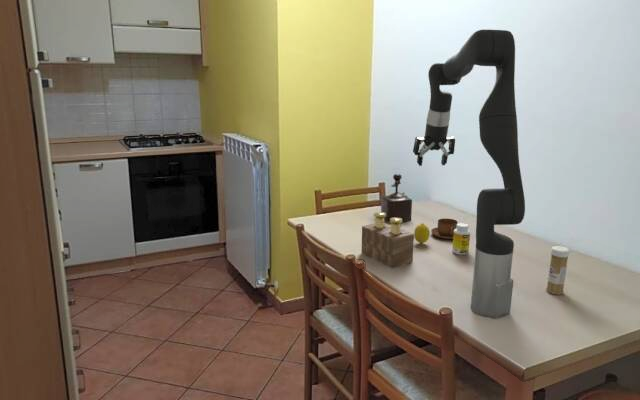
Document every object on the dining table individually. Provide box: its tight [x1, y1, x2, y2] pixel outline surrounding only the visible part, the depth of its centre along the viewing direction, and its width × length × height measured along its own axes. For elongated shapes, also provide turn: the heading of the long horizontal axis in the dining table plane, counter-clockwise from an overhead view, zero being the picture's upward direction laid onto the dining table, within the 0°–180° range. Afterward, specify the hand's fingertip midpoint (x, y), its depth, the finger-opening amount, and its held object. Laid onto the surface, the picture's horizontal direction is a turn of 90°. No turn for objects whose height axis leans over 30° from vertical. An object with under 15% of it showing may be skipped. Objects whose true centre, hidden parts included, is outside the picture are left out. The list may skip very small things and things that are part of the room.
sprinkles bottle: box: [546, 245, 570, 295], centre depth 141 cm, size 5×5×13 cm
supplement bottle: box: [452, 222, 471, 256], centre depth 172 cm, size 6×6×10 cm
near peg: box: [389, 218, 403, 235], centre depth 163 cm, size 4×4×10 cm
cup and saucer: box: [430, 218, 459, 240], centre depth 190 cm, size 12×12×6 cm
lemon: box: [413, 223, 431, 245], centre depth 181 cm, size 6×6×8 cm
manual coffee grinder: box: [380, 173, 413, 223], centre depth 214 cm, size 16×11×18 cm
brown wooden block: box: [361, 222, 415, 269], centre depth 167 cm, size 16×9×10 cm, turn 35°
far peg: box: [373, 211, 386, 229], centre depth 169 cm, size 4×4×10 cm
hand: (431, 164), depth 176 cm, fingers open, 8 cm apart
